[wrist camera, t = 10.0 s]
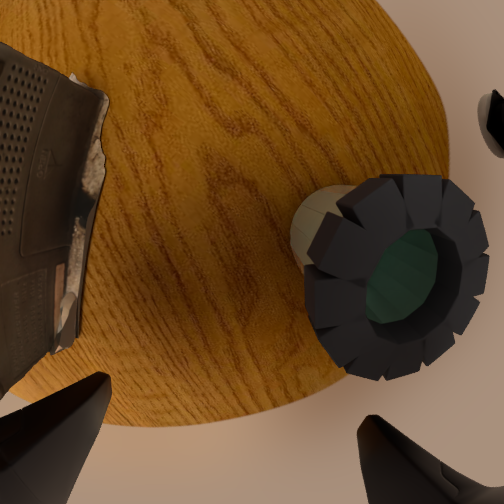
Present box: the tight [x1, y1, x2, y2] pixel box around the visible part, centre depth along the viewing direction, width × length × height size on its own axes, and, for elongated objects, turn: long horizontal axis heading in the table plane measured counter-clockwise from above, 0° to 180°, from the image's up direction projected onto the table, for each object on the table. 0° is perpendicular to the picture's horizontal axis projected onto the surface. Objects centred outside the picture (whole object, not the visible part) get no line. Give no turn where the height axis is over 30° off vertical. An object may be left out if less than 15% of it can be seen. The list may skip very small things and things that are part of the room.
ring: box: [304, 174, 489, 381], centre depth 10 cm, size 9×9×2 cm
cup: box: [290, 185, 438, 324], centre depth 16 cm, size 7×7×9 cm
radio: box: [0, 42, 109, 400], centre depth 12 cm, size 23×9×15 cm, turn 157°
